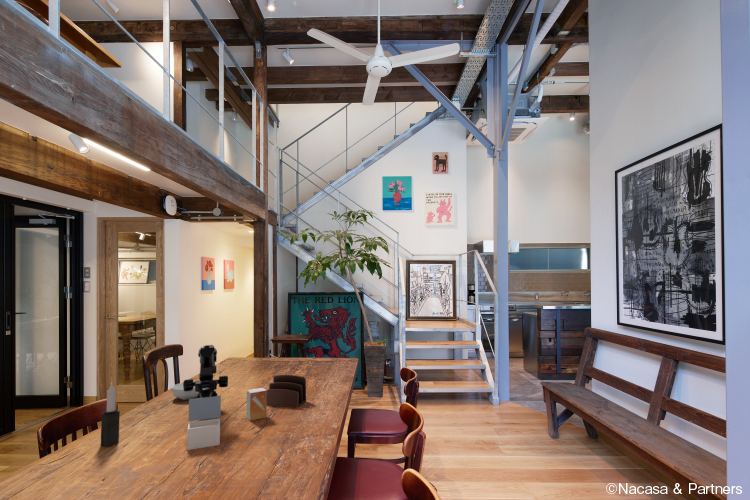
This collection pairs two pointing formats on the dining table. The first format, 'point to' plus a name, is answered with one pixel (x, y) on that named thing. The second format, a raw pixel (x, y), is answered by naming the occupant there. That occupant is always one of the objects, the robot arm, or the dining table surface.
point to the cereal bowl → (183, 392)
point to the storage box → (203, 434)
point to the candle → (110, 421)
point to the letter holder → (287, 391)
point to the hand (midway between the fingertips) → (205, 400)
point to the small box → (256, 403)
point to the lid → (204, 408)
